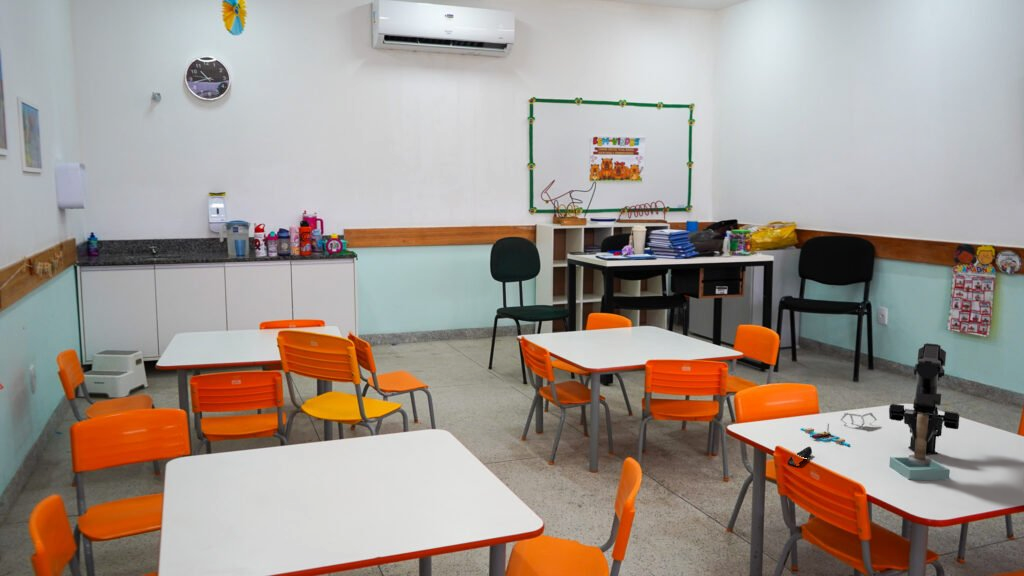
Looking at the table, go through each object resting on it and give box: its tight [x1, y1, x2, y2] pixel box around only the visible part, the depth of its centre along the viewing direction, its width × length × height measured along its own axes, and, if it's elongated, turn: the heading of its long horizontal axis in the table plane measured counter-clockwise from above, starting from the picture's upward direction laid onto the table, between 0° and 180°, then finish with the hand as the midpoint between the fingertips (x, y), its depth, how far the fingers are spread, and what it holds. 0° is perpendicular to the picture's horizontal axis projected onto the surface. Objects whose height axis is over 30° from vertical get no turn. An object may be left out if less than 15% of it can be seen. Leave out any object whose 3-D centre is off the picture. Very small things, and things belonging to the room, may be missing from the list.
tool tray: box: [889, 456, 951, 481], centre depth 227 cm, size 12×11×3 cm
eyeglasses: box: [840, 410, 878, 430], centre depth 274 cm, size 12×8×5 cm
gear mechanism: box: [800, 422, 851, 447], centre depth 259 cm, size 20×5×9 cm
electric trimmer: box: [787, 446, 813, 468], centre depth 237 cm, size 4×15×3 cm, turn 140°
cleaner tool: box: [907, 414, 932, 465], centre depth 226 cm, size 6×6×15 cm
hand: (920, 440), depth 225 cm, fingers closed on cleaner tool, 3 cm apart
